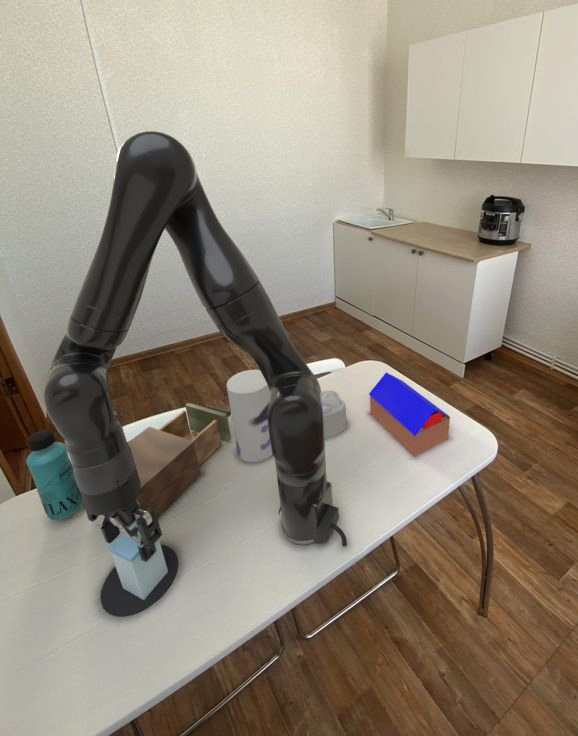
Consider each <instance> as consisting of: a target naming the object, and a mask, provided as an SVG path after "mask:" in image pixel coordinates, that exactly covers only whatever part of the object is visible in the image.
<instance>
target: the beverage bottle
mask: <svg viewBox="0 0 578 736" xmlns="http://www.w3.org/2000/svg"><path fill="white" fill-rule="evenodd" d="M26 441H27V446H28V447H27V448H28V449H29V451H30V453H29V455H28V456H27V457H26V459H25V463H26V465H27V467H28V469H29V472H30V475H31V477H32V480H33V482H34V485H35V487H36V492H37V493H38V497H39V500H40V503H41V505H42V507H43V511H44V512H45V514H46V517H47V518H49V519H50V520H52V521H59V520H60V521H61V520H63V519H66V518H68V517H70V516H72V515H73V514H75V513H76V512H77V511H78V510H79V509H80V508H81V507H82V505H83V500H82V497H81V493H80V491H79V488H78V485H77V482H76V480H75V477H74V473H73V466H72V462H71V459H70V457H69V454H68V451H67V448H66V445H65V443H63V442H60V441H57V437H56V435H55V434H54V431H53V430H52V429H49V428H48V429H47V428H46V429H40V430H37V431H36V432H34V433H32V434H31V435H29V437H28V438H27V440H26Z"/></svg>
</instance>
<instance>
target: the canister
mask: <svg viewBox="0 0 578 736" xmlns="http://www.w3.org/2000/svg"><path fill="white" fill-rule="evenodd" d="M136 525H137V524H136V521H135V522H134V523H133V524H132V525H131V526H130V527H129V530H132V529H133V528H134V527H135V526H136ZM137 534H138V535H139V537H140V538H141V535H140V532H139V531H138V533H137ZM154 544H155V547H156V552H155V553H154V555H153V556H152V557H151V558H150V559H149V560H148V561H147V562H145V561H143V560H142V559H141V556H140V553H139V550H138V547H137V544H136V543H135V541H134V540H133V539H132V538H126V536H125V535H124V534H123V533H121V534H120V535H119V536H118V537H117V538H116V539H115V540H114V541H113V542H111V543H110V545H109V546H108V547H107V549H108V550H107V551H108V552H109V553H110V555H111V558H112V561H113V564H114V567H116V569H117V572H118V575H119V578H120V581H121V584H122V587H123V589H125V590H127V591H129V592H130V593H132V594H134V595H136V596H137V597H139V598H141V599H143V600H144V599H145V598H146V597H147V596H148V595H149V594H150V592H151V591H152V590H153V589H154V588H155V586H156V585H157V584H158V583H159V582H160V581H161V579H162V578H163V577H164V576H165V575H166V574H167V572H168V570H167V566H166V563H165V559H164V555H163V552H162V548H161V545H162V544H161V541H160V538H159V539H158V540H157V541H156V542H155V543H154ZM160 544H161V545H160Z"/></svg>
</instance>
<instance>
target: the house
mask: <svg viewBox="0 0 578 736" xmlns="http://www.w3.org/2000/svg"><path fill="white" fill-rule="evenodd" d="M368 395H369V414H370V416H371V417H372V418H374V419H375V420H376V421H377V422H378V423H379V425H381V426H382V427H383V428H384V430H386V431H387V432H388V433H389V434H390V435H391V436H392V437H393V438H395V441H397V442H398V443H399V444H400V445H402V447H403V448H405V450H407V452H408V453H409V454H411V455H412V456H413V457H416V456H419V455H420V454H423V453H424V452H426V451H428V450H429V449H432V448H434V447H436V446H438V445H440V444H441V443H443V442H445V441H447V440H449V434H450V420H451V416H450V415H449V414H447V413H446V412H445V411H444V410H442V409H441V408H439V407H438V406H436V404H434V403H433V402H431V401H430V400H429V399H427V398H426V397H424V395H422V394H421V393H419V392H418V391H417V390H415V389H414V388H412V387H411V386H410V385H409V384H407V383H406V382H405V381H404V380H402V379H400V378H398V377H396V376H395V375H392V374H391V373H389V372H385V373H384V374H383V375H382V377H381V378H380V379H379V380H378V381H377V383H376V384H375V385H374V386H373V388H372V389H371V391H370V392H369V393H368Z"/></svg>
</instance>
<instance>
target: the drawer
mask: <svg viewBox="0 0 578 736" xmlns="http://www.w3.org/2000/svg"><path fill="white" fill-rule="evenodd" d="M184 406H185V410H182V411H180V412H179V413H178V414H177V415H175V416H174V417H173V418H171V419H170V420H169V421H167V422H166V423H165V424H163V425H162V426H160V427H159V428H157V429H158V430H161V431H164V432H167V433H170V434H173V435H176V436H179V437H182V438H185V439H188V440H191V441H194V444H195V449H196V454H197V458H198V463H199V466H200V465H202V463H204V461H206V460H207V459H208V458H209V457H210V456H211V455H212V454H213V453H214V452H215V451H216V450H217V449H218V448H219V447H220V446H221V445H222V441H223V442H227V443H229V442H230V441H231V440H232V436H231V435H232V434H231V430H230V423H229V418H230V417H231V410H227V409H223V408H220V407H216V406H212V405H208V406H207V407H204V406H201V405H197V404H194V403H191V402H188V403H186V404H185V405H184Z"/></svg>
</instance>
